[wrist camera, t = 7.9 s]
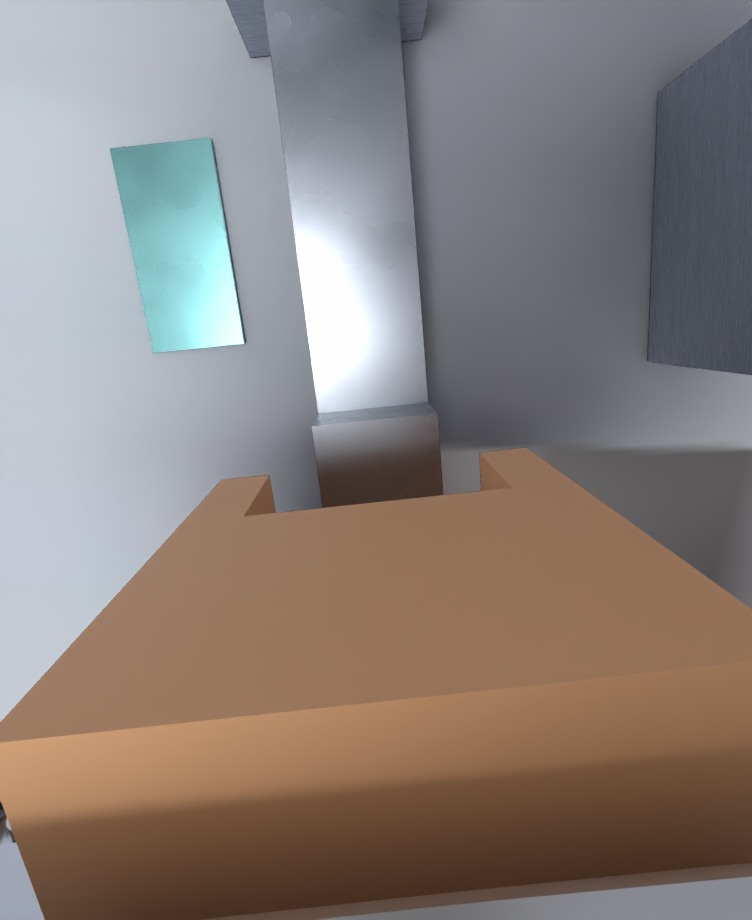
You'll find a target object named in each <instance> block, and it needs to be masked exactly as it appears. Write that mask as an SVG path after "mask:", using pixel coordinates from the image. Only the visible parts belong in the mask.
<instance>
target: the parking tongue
mask: <svg viewBox="0 0 752 920" xmlns="http://www.w3.org/2000/svg"><path fill="white" fill-rule="evenodd" d="M648 362H653V363H661V364H668V365H676V366H684V367H692V368H700V369H708V370H716V371H723V372H731V373H739V374H747V375H752V19H751V20H749V21H748V22H747V23H745V24H744V25H743V26H742V27H740V28H739V29H738V30H737V31H735V32H734V33H733V34H732V35H730V36H729V37H728V38H727V39H725V40H724V41H723V42H722V43H720V44H719V45H718V46H716V47H715V48H714V49H713V50H711V51H710V52H709V53H708V54H706V55H705V56H704V57H703V58H701V59H700V60H699V61H698V62H696V63H695V64H694V65H692V66H691V67H690V68H689V69H687V70H686V71H685V72H684V73H682V74H681V75H680V76H679V77H677V78H676V79H675V80H674V81H672V82H671V83H670V84H669V85H667V86H666V87H665V88H663V89H662V90H661V91H660V92H658V109H657V135H656V161H655V187H654V214H653V240H652V266H651V292H650V319H649V345H648Z"/></svg>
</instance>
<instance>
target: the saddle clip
mask: <svg viewBox="0 0 752 920" xmlns="http://www.w3.org/2000/svg"><path fill="white" fill-rule="evenodd" d="M479 457H480V478H481V491H478V492H469V493H459V494H450V495H440V496H431V497H421V498H412V499H403V500H393V501H384V502H374V503H365V504H355V505H346V506H337V507H327V508H318V509H308V510H299V511H290V512H280V513H276V512H275V506H274V499H273V493H272V487H271V481H270V475H262V476H252V477H243V478H233V479H224V480H221V481H220V482H219V483H218V484H217V485H216V487H215V488H214V489H213V490H212V491H211V492H210V493H209V494H208V495H207V496H206V498H205V499H204V500H203V501H202V502H201V503H200V504H199V505H198V506H197V507H196V509H195V510H194V511H193V512H192V513H191V514H190V515H189V516H188V517H187V518H186V519H185V521H184V522H183V523H182V524H181V525H180V526H179V527H178V528H177V529H176V530H175V532H174V533H173V534H172V535H171V536H170V537H169V538H168V539H167V540H166V541H165V543H164V544H163V545H162V546H161V547H160V548H159V549H158V550H157V551H156V552H155V553H154V555H153V556H152V557H151V558H150V559H149V560H148V561H147V562H146V563H145V564H144V566H143V567H142V568H141V569H140V570H139V571H138V572H137V573H136V574H135V575H134V577H133V578H132V579H131V580H130V581H129V582H128V583H127V584H126V585H125V586H124V587H123V589H122V590H121V591H120V592H119V593H118V594H117V595H116V596H115V597H114V598H113V600H112V601H111V602H110V603H109V604H108V605H107V606H106V607H105V608H104V609H103V611H102V612H101V613H100V614H99V615H98V616H97V617H96V618H95V619H94V620H93V622H92V623H91V624H90V625H89V626H88V627H87V628H86V629H85V630H84V631H83V632H82V634H81V635H80V636H79V637H78V638H77V639H76V640H75V641H74V642H73V643H72V645H71V646H70V647H69V648H68V649H67V650H66V651H65V652H64V653H63V654H62V656H61V657H60V658H59V659H58V660H57V661H56V662H55V663H54V664H53V665H52V666H51V668H50V669H49V670H48V671H47V672H46V673H45V674H44V675H43V676H42V677H41V679H40V680H39V681H38V682H37V683H36V684H35V685H34V686H33V687H32V688H31V690H30V691H29V692H28V693H27V694H26V695H25V696H24V697H23V698H22V699H21V700H20V702H19V703H18V704H17V705H16V706H15V707H14V708H13V709H12V710H11V711H10V713H9V714H8V715H7V716H6V717H5V718H4V719H3V720H2V721H1V722H0V800H1V803H2V805H3V808H4V811H5V813H6V816H7V819H8V822H9V824H10V827H11V830H12V832H13V835H14V838H15V840H16V843H17V846H18V849H19V851H20V854H21V857H22V859H23V862H24V865H25V868H26V870H27V873H28V876H29V878H30V881H31V884H32V886H33V889H34V892H35V895H36V897H37V900H38V903H39V905H40V908H41V911H42V913H43V916H44V919H45V920H203V919H212V918H221V917H230V916H239V915H248V914H257V913H266V912H275V911H283V910H292V909H301V908H311V907H320V906H329V905H339V904H348V903H357V902H367V901H376V900H386V899H395V898H404V897H414V896H423V895H433V894H442V893H452V892H461V891H471V890H481V889H490V888H500V887H509V886H519V885H528V884H538V883H548V882H559V881H569V880H579V879H589V878H599V877H609V876H619V875H629V874H640V873H650V872H660V871H670V870H680V869H690V868H700V867H710V866H720V865H733V864H745V863H752V609H751V608H749V607H748V606H746V605H745V604H744V603H742V602H741V601H739V600H738V599H737V598H735V597H734V596H732V595H731V594H730V593H728V592H727V591H726V590H724V589H722V588H721V587H719V586H718V585H717V584H716V583H714V582H713V581H711V580H710V579H709V578H707V577H706V576H705V575H703V574H702V573H701V572H699V571H698V570H696V569H695V568H694V567H692V566H691V565H689V564H688V563H687V562H685V561H684V560H682V559H681V558H680V557H678V556H677V555H675V554H674V553H673V552H671V551H670V550H669V549H667V548H666V547H664V546H663V545H662V544H660V543H659V542H657V541H656V540H655V539H653V538H652V537H650V536H649V535H648V534H646V533H645V532H644V531H642V530H641V529H639V528H638V527H637V526H635V525H633V524H632V523H631V522H630V521H628V520H627V519H625V518H624V517H623V516H621V515H620V514H618V513H617V512H616V511H614V510H613V509H612V508H610V507H609V506H607V505H606V504H605V503H603V502H602V501H600V500H599V499H598V498H596V497H595V496H594V495H592V494H591V493H589V492H588V491H586V490H585V489H584V488H582V487H581V486H580V485H578V484H577V483H575V482H574V481H572V480H571V479H570V478H569V477H567V476H565V475H564V474H563V473H561V472H560V471H559V470H557V469H556V468H555V467H553V466H552V465H550V464H549V463H548V462H546V461H545V460H543V459H542V458H540V457H539V456H538V455H537V454H535V453H534V452H532V451H531V450H530V449H528V448H527V447H526V448H516V449H507V450H498V451H488V452H479Z"/></svg>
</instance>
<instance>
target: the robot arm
mask: <svg viewBox="0 0 752 920" xmlns="http://www.w3.org/2000/svg"><path fill="white" fill-rule="evenodd" d="M0 920H45V919H44V916H43V913H42V911H41V908H40V905H39V903H38V900H37V897H36V895H35V892H34V889H33V886H32V884H31V881H30V878H29V876H28V873H27V870H26V868H25V865H24V862H23V859H22V857H21V854H20V851H19V849H18V846H17V843H16V840H15V838H14V835H13V832H12V830H11V827H10V824H9V822H8V819H7V816H6V813H5V811H4V808H3V805H2V803H1V800H0ZM203 920H752V863H745V864H733V865H720V866H710V867H700V868H690V869H680V870H670V871H660V872H650V873H640V874H629V875H619V876H609V877H599V878H589V879H579V880H569V881H559V882H548V883H538V884H528V885H519V886H509V887H500V888H490V889H481V890H471V891H461V892H452V893H442V894H433V895H423V896H414V897H404V898H395V899H386V900H376V901H367V902H357V903H348V904H339V905H329V906H320V907H311V908H301V909H292V910H283V911H275V912H266V913H257V914H248V915H239V916H230V917H221V918H212V919H203Z"/></svg>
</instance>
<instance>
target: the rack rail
mask: <svg viewBox="0 0 752 920" xmlns="http://www.w3.org/2000/svg"><path fill="white" fill-rule="evenodd" d="M226 1H227V4H228V6H229V8H230V11H231V13H232V16H233V18H234V20H235V23H236V25H237V27H238V30H239V32H240V34H241V37H242V39H243V41H244V44H245V46H246V49H247V51H248V53H249V56H250V58H252V57H261V56H270V55H271V62H272V69H273V77H274V84H275V92H276V99H277V107H278V115H279V122H280V130H281V137H282V145H283V152H284V160H285V167H286V175H287V182H288V190H289V197H290V205H291V213H292V220H293V228H294V235H295V243H296V250H297V258H298V265H299V273H300V280H301V288H302V295H303V303H304V310H305V318H306V326H307V333H308V341H309V348H310V356H311V363H312V371H313V378H314V386H315V393H316V401H317V408H318V415H317V417H316V419H315V421H314V423H313V424H312V434H313V441H314V448H315V456H316V463H317V470H318V477H319V485H320V492H321V499H322V507H323V508H327V507H337V506H346V505H355V504H365V503H374V502H384V501H393V500H403V499H412V498H421V497H431V496H440V495H443V484H442V470H441V456H440V442H439V427H438V413H437V412H436V411H435V410H434V408H433V407H432V406H431V405H430V404H429V403H428V393H427V380H426V367H425V353H424V340H423V327H422V313H421V300H420V287H419V273H418V260H417V247H416V233H415V220H414V207H413V193H412V180H411V167H410V153H409V140H408V127H407V113H406V100H405V87H404V73H403V60H402V47H401V41H410V40H419V39H421V38H422V33H423V28H424V23H425V18H426V13H427V8H428V3H429V0H226ZM110 151H111V156H112V161H113V165H114V170H115V175H116V180H117V184H118V189H119V194H120V199H121V203H122V208H123V213H124V217H125V222H126V227H127V232H128V236H129V241H130V246H131V250H132V255H133V260H134V265H135V269H136V274H137V279H138V283H139V288H140V293H141V298H142V302H143V307H144V312H145V316H146V321H147V326H148V331H149V335H150V340H151V345H152V349H153V353H159V352H169V351H178V350H188V349H197V348H207V347H216V346H226V345H235V344H245V338H244V332H243V326H242V320H241V314H240V308H239V302H238V296H237V290H236V284H235V278H234V272H233V265H232V259H231V253H230V247H229V241H228V235H227V229H226V223H225V217H224V211H223V205H222V199H221V193H220V187H219V180H218V174H217V168H216V162H215V156H214V150H213V144H212V140H211V139H210V138H205V139H196V140H186V141H177V142H167V143H158V144H149V145H139V146H130V147H121V148H111V149H110Z"/></svg>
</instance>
